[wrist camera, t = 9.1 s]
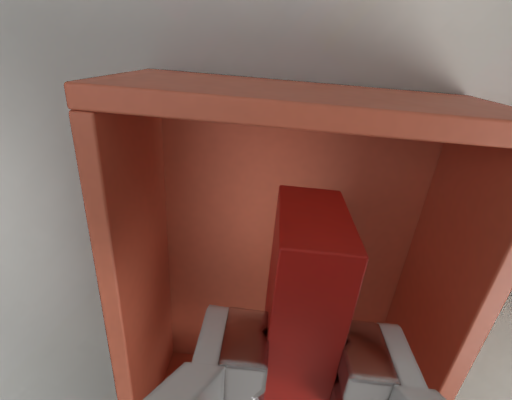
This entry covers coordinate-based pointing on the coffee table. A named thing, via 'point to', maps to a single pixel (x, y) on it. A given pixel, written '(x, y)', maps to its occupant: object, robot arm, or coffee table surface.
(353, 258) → the red spoon
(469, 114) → the red bin
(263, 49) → the coffee table surface
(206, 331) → the robot arm
